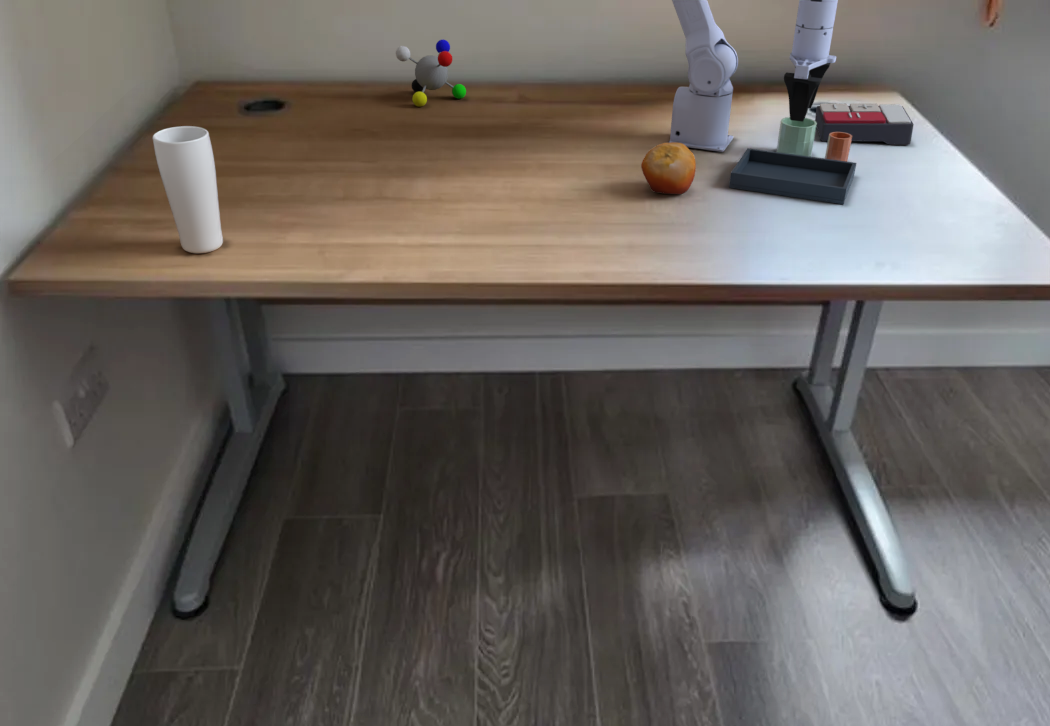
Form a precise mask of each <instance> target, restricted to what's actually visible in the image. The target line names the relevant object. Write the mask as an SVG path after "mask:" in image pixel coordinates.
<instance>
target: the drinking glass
mask: <svg viewBox="0 0 1050 726" xmlns="http://www.w3.org/2000/svg"><path fill="white" fill-rule="evenodd" d="M211 141H212V140H211V137H210V133H209V131H208V130H207V129H206V128H204V127H201V126H195V125H193V126H192V125H182V126H181V125H180V126H173V127H167V128H163V129H161V130H159V131H156V132H155V133H154V134H153V135H152V142H153V143H152V144H153V150H154V154H155V160H156V163H157V168H158V172H159V175H160V178H161V182H162V185H163V187H164V188H163V189H164V191H165V194H166V198H167V200H168V204H169V207H170V210H171V214H172V217H173V220H174V225H175V227H176V231H177V234H178V237H179V238H178V239H179V243H180V246H181V248H182V249H183V250H184V251H186V252H187V253H191V254H207V253H211V252H214V251H216V250H218V249H219V248H221V247H222V246H223V244H224V237H223V231H222V224H221V213H220V203H219V193H218V181H217V180H218V179H217V171H216V162H215V156H214V150H213V146H212V142H211Z"/></svg>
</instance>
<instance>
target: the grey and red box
mask: <svg viewBox="0 0 1050 726" xmlns="http://www.w3.org/2000/svg"><path fill="white" fill-rule="evenodd" d="M815 108H816V109H815V117H814V118H815V119H814V121H816V123H817V126H816V131H817V133H818V136H819V138H820V141H822V142H828V137H829V134H830V133H832V132H844V133H848V134H851V135H852V141H851V142H884V143H885V144H886V145H889V146H890V145H891V146H908V145H911V143H912V137H913V131H914V125H915V124H914V122H913V121H912V119H911V117H910V116H909V114H908V112H907V111H906V108H905V107H904V106H903V105H902V104H899V103H896V104H895V103H894V104H893V103H892V104H890V103H888V104H887V103H886V104H883V103H882V104H879V105H878V103H877V102H876V103H875V102H873V103H871V102H870V103H869V102H867V103H866V102H861V103H860V102H859V103H858V102H856V103H855V102H851V103H849V104H848V103H847V102H846V103H843V102H842V103H839V102H837V103H836V102H835V103H833V102H832V103H829V102H828V103H825V102H824V103H823V102H822V103H820V104H819V105H817V106H816V107H815Z"/></svg>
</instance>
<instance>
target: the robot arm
mask: <svg viewBox="0 0 1050 726" xmlns="http://www.w3.org/2000/svg"><path fill="white" fill-rule="evenodd" d="M671 2H672V5H673V7H674V10H675V13H676V15H677V19H678V20H679V23H680V26H681V30H682V31H683V34H684V37H685V51H684V53H685V57H686V60H687V63H688V64H687V65H688V68H687V79H688V82H689V86H679V87H678V88H677V89H676V92H675V94H674V97H673V103H672V112H671V123H670V136H669V141H668V143H671V142H678V143H682V144H684V145H685V146H686V147H687V148H688V149H689V148H691V149H698V150H704V151H713V152H721V153H722V152H723V153H724V152H725V151H726V149H727V148H728V146H729V145H730V144H731V142H732V141H733V139H734V135H731V134H729V130H730V129H729V128H730V119H731V110H732V102H733V92H734V86H733V84H732V82H731V77H733V75H735V73H736V72H737V70H738V66H739V58H738V54H737V51H736V49H735V48H734V47H733V46H732V45H731V44H730V43H729V42H728V41H727V39H726V36H725V33H724V32H723V30H722V29H721V28H720V27H719V26H718V24H716V21H715V18H714V15H713V12H712V10H711V7H710V4H709V1H708V0H671ZM838 2H839V0H798V7H797V14H796V19H795V27H794V34H793V41H792V42H793V43H792V47H791V52H790V54H789V60H790V62H791V63H792V64H793V66H794V72H785V73H784V75H783V82H784V84H785V87H786V90H787V95H788V110H789V112H788V113H789V117H790V120H793V121H801V122H803V121H804V119H805V118H807V114H808V111H809V109H812V107H813V105H814V102H815V100H816V97H817V93H818V90H819V88H820V86H821V82H822V80H823V77H824V76H825V74H826V72H827V71H828V69H829V68H830V66H831V64H834V63H835V64H836V61H837V56H836V55H831V54H830V50H831V46H832V45H831V44H832V40H833V39H832V38H833V32H834V26H835V20H836V15H837V9H838V8H837V7H838V4H839V3H838Z"/></svg>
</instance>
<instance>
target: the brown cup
mask: <svg viewBox="0 0 1050 726" xmlns="http://www.w3.org/2000/svg"><path fill="white" fill-rule="evenodd" d="M852 142H853V141H852V135H851V134H848V133H844V132H832V133H830V134H829V137H828V141H827V144H826V149H825V155H824V159H832V160H839V161H847V162H849V158H850V157H849V156H850V150H851V145H852Z"/></svg>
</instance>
